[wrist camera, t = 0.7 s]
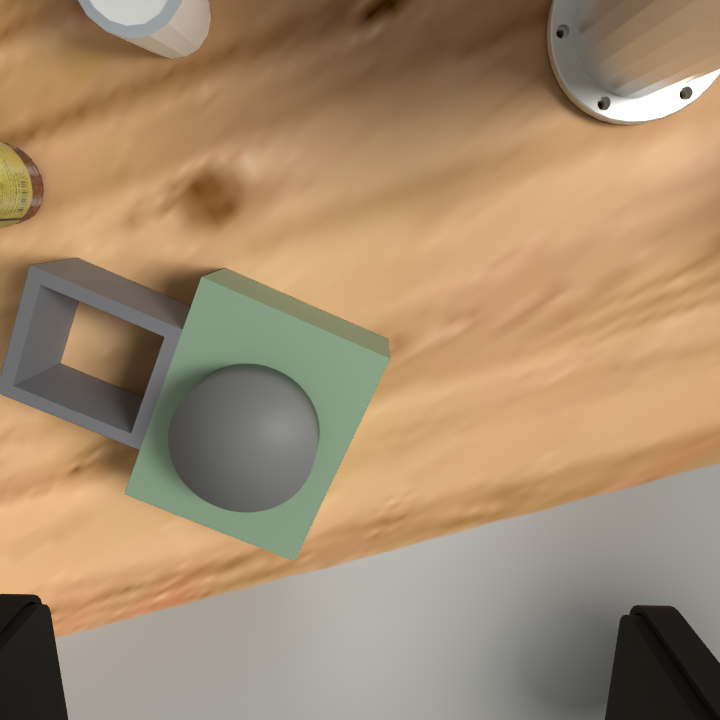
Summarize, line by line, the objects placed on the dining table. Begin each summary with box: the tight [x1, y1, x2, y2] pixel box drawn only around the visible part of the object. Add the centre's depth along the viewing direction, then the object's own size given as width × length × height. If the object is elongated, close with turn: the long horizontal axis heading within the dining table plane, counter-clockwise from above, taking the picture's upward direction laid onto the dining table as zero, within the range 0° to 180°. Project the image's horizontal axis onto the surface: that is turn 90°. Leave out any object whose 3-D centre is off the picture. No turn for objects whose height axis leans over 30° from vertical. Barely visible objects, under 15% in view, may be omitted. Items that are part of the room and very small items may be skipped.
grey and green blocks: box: [0, 258, 390, 561], centre depth 40 cm, size 18×25×9 cm
